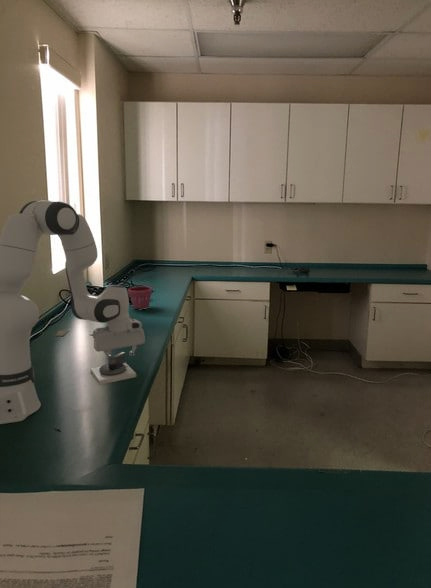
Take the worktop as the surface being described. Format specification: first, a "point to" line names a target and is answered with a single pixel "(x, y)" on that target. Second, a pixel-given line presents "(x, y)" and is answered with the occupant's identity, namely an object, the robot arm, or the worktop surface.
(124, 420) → the worktop surface
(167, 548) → the worktop surface
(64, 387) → the worktop surface
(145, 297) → the plant pot
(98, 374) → the dial base
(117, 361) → the dial
